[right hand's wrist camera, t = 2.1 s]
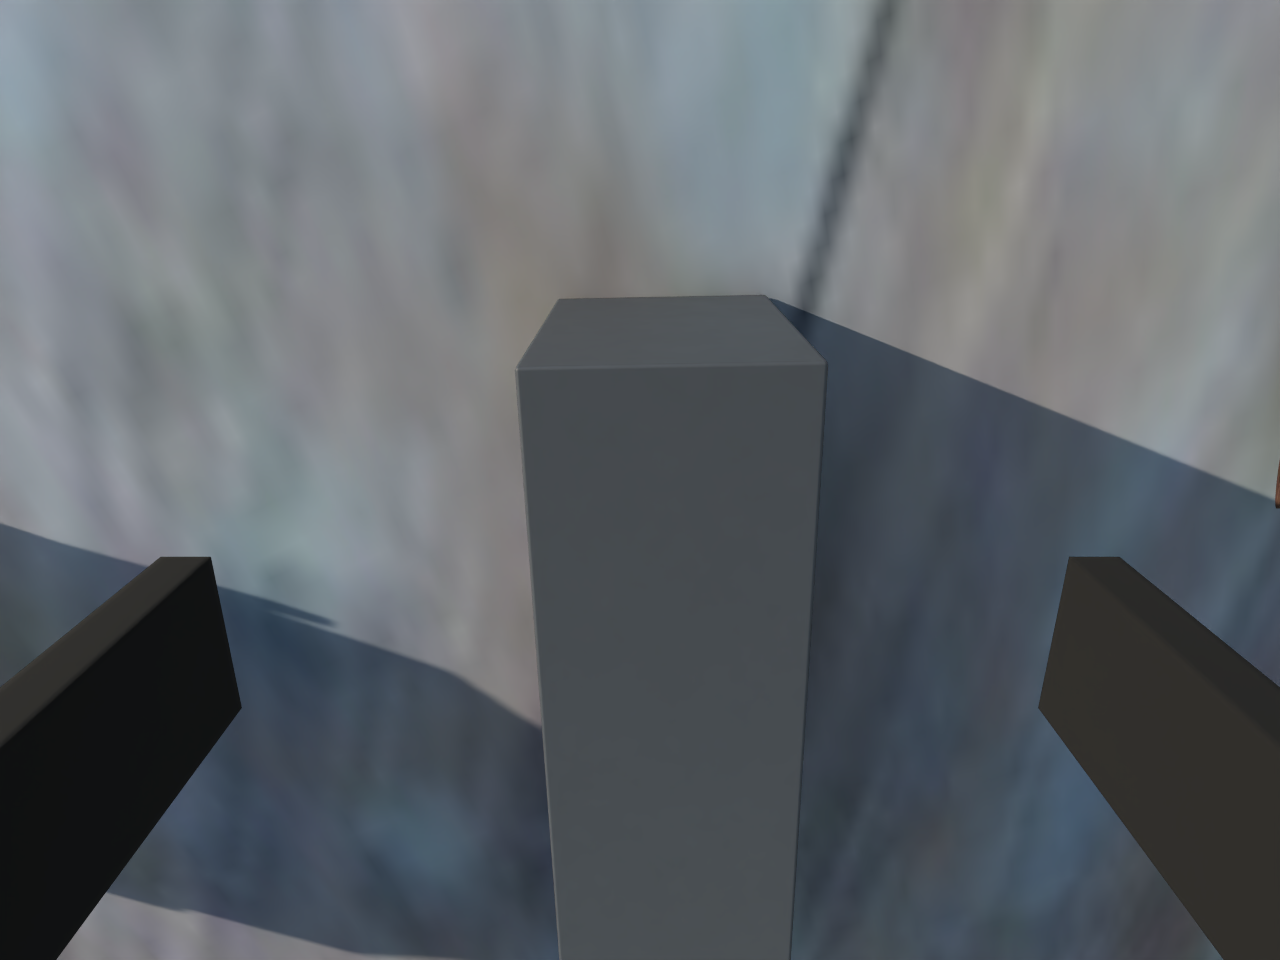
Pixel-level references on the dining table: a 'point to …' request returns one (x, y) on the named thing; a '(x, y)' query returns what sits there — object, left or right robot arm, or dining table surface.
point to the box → (672, 616)
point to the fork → (1278, 490)
